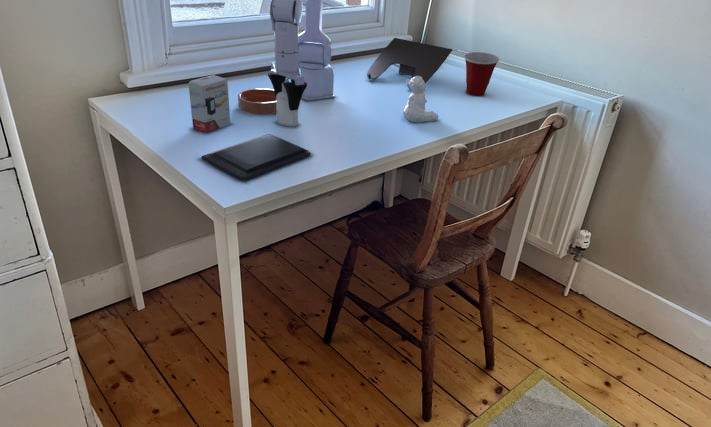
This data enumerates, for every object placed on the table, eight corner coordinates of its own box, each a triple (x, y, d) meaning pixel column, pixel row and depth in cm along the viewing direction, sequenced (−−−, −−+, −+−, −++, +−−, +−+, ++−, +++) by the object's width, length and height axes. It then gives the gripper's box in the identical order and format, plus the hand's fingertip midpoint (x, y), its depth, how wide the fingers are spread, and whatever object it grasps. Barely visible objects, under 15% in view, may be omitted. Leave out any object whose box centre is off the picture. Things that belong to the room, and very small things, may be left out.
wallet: (241, 174, 102) (198, 150, 111) (242, 182, 103) (199, 158, 112) (314, 148, 115) (271, 129, 124) (314, 156, 116) (271, 136, 125)
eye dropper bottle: (284, 128, 129) (283, 82, 123) (275, 121, 133) (274, 75, 127) (299, 126, 131) (299, 80, 125) (290, 119, 135) (289, 74, 129)
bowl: (273, 98, 150) (273, 86, 148) (293, 111, 141) (293, 99, 139) (231, 103, 143) (231, 91, 142) (249, 118, 134) (248, 105, 133)
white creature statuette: (439, 120, 141) (445, 77, 135) (419, 127, 136) (425, 83, 130) (412, 111, 147) (417, 69, 141) (393, 117, 141) (397, 74, 135)
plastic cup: (455, 95, 162) (461, 57, 156) (462, 86, 171) (468, 50, 165) (489, 101, 159) (496, 62, 153) (494, 92, 168) (501, 55, 162)
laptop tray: (364, 93, 177) (358, 72, 170) (397, 54, 187) (393, 32, 180) (422, 109, 166) (419, 87, 159) (454, 66, 176) (452, 43, 169)
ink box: (206, 133, 124) (201, 85, 118) (192, 128, 126) (186, 81, 120) (231, 124, 130) (228, 78, 124) (217, 119, 132) (213, 74, 126)
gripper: (259, 45, 126) (261, 98, 133) (284, 59, 116) (285, 116, 123) (285, 43, 130) (285, 95, 137) (312, 56, 119) (311, 112, 126)
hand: (287, 105), depth 130 cm, fingers open, 7 cm apart
